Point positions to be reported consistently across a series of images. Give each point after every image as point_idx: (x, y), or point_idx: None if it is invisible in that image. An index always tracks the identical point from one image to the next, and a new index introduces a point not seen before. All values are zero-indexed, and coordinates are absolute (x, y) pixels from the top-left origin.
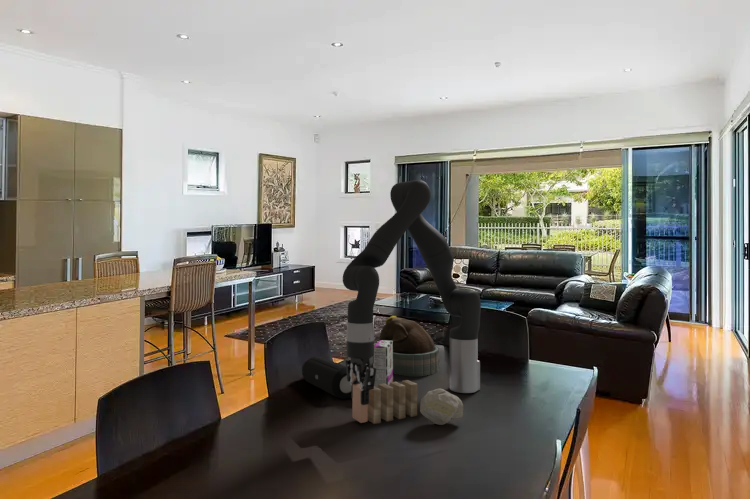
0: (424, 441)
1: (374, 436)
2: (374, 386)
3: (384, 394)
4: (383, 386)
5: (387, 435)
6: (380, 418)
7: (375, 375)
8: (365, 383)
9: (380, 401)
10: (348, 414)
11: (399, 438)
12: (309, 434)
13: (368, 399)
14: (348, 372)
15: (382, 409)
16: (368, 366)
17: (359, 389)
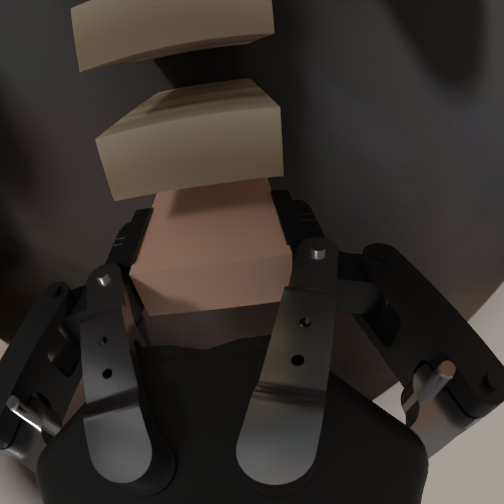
0: (480, 60)
1: (377, 171)
2: (145, 125)
3: (218, 41)
4: (179, 36)
5: (394, 125)
6: (251, 80)
7: (476, 334)
8: (389, 336)
9: (264, 92)
10: (96, 183)
11: (433, 106)
12: (257, 323)
13: (312, 213)
14: (77, 385)
15: (195, 49)
16: (435, 451)
17: (266, 296)
